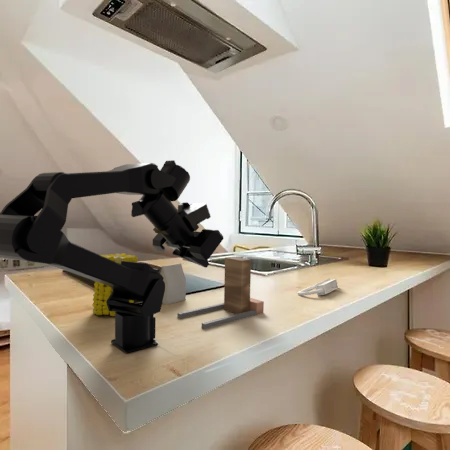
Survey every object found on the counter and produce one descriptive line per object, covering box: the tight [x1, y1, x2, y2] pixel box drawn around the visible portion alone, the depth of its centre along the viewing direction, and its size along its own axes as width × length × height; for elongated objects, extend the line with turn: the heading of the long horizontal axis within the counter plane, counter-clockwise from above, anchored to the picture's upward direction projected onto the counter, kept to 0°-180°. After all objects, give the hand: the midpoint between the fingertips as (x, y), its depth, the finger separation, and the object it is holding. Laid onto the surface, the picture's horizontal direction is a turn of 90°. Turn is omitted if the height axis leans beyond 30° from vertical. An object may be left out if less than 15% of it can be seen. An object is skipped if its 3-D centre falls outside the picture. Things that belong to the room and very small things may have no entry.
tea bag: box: [159, 263, 187, 306], centre depth 97 cm, size 4×7×10 cm, turn 142°
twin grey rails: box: [177, 297, 265, 330], centre depth 85 cm, size 18×10×3 cm, turn 132°
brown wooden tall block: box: [223, 256, 252, 315], centre depth 88 cm, size 3×6×13 cm, turn 42°
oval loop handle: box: [296, 278, 339, 297], centre depth 112 cm, size 20×8×4 cm, turn 144°
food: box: [92, 252, 139, 317], centre depth 86 cm, size 15×12×10 cm
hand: (206, 265), depth 81 cm, fingers closed
